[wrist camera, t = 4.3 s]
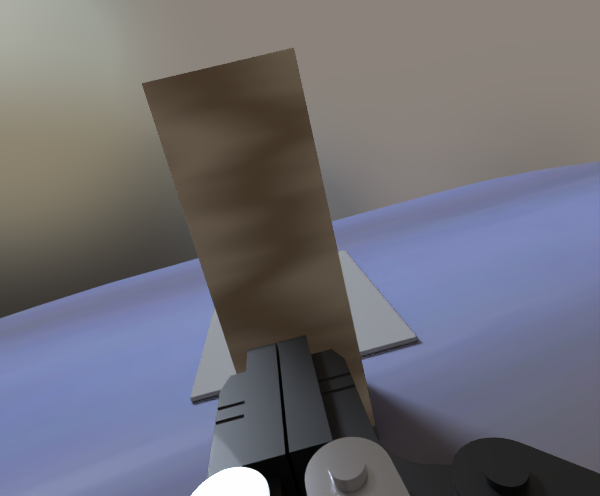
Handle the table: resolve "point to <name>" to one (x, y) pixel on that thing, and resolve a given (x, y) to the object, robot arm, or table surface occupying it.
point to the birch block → (257, 206)
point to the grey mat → (366, 317)
